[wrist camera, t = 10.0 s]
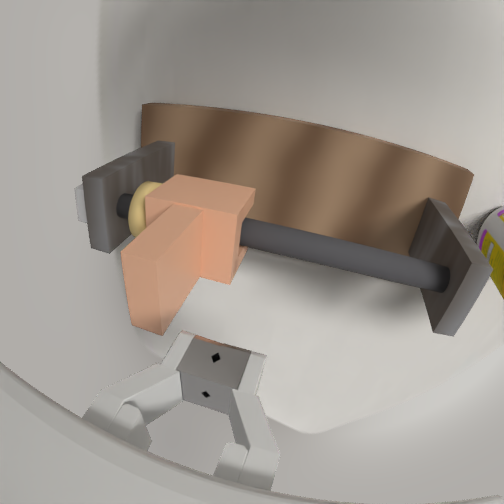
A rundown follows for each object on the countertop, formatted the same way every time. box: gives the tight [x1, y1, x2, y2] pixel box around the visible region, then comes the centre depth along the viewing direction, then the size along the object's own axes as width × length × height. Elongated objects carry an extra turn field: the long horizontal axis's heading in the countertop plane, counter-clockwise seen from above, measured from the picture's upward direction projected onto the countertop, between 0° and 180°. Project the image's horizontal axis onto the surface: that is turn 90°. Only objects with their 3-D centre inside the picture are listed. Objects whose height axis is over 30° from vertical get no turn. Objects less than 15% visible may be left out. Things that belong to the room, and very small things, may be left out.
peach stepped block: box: [121, 174, 256, 336], centre depth 16 cm, size 5×4×9 cm
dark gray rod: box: [75, 181, 450, 293], centre depth 18 cm, size 24×4×4 cm, turn 82°
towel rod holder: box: [82, 103, 493, 336], centre depth 20 cm, size 27×11×11 cm, turn 82°
